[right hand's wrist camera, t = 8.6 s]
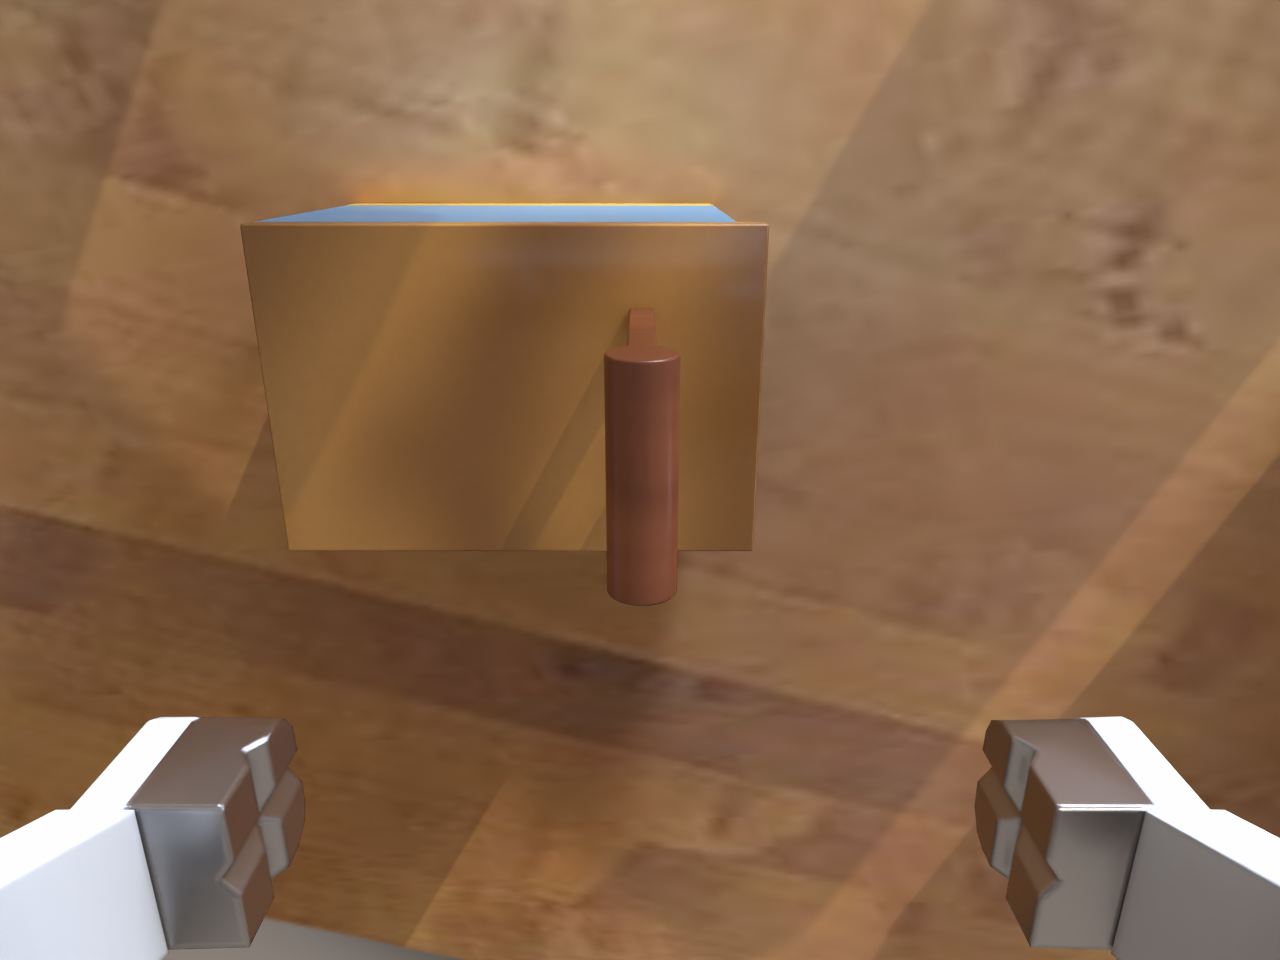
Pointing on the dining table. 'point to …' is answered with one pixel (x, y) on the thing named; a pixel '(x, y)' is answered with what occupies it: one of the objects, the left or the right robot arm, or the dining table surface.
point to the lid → (515, 387)
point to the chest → (512, 213)
